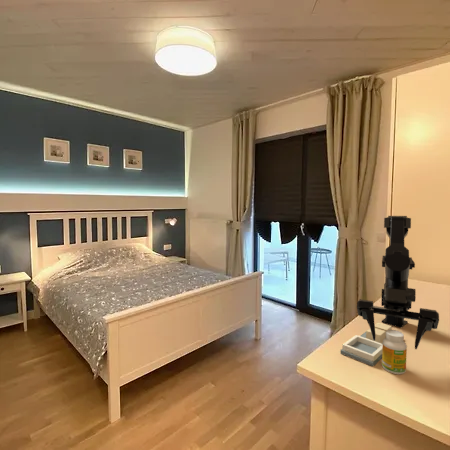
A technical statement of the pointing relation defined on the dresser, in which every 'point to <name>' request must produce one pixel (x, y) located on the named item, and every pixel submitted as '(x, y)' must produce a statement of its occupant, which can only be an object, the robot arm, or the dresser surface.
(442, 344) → the dresser surface
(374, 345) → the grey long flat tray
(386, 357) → the supplement bottle
